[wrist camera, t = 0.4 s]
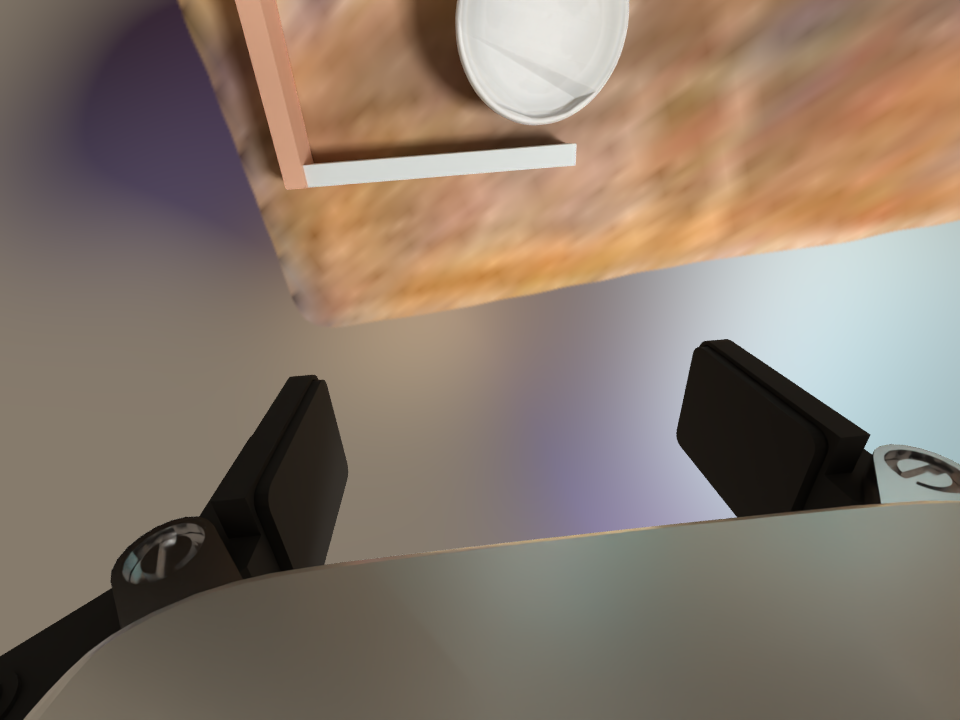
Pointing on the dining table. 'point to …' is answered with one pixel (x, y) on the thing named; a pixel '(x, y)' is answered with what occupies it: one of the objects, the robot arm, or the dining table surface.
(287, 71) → the bay
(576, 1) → the ramekin
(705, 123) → the dining table surface
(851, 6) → the dining table surface
